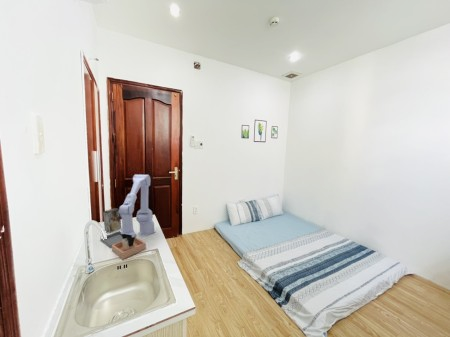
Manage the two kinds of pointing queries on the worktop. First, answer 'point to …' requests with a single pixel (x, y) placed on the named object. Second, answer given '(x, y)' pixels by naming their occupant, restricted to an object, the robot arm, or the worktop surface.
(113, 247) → the bin
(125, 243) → the stone block
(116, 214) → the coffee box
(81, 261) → the worktop surface
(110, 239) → the tray
